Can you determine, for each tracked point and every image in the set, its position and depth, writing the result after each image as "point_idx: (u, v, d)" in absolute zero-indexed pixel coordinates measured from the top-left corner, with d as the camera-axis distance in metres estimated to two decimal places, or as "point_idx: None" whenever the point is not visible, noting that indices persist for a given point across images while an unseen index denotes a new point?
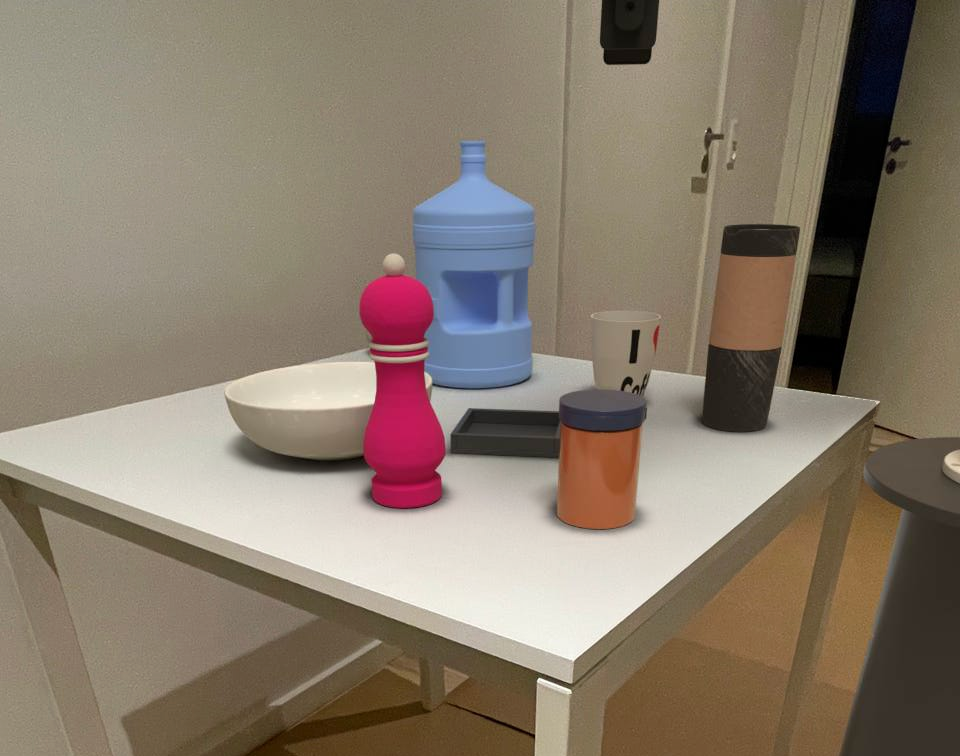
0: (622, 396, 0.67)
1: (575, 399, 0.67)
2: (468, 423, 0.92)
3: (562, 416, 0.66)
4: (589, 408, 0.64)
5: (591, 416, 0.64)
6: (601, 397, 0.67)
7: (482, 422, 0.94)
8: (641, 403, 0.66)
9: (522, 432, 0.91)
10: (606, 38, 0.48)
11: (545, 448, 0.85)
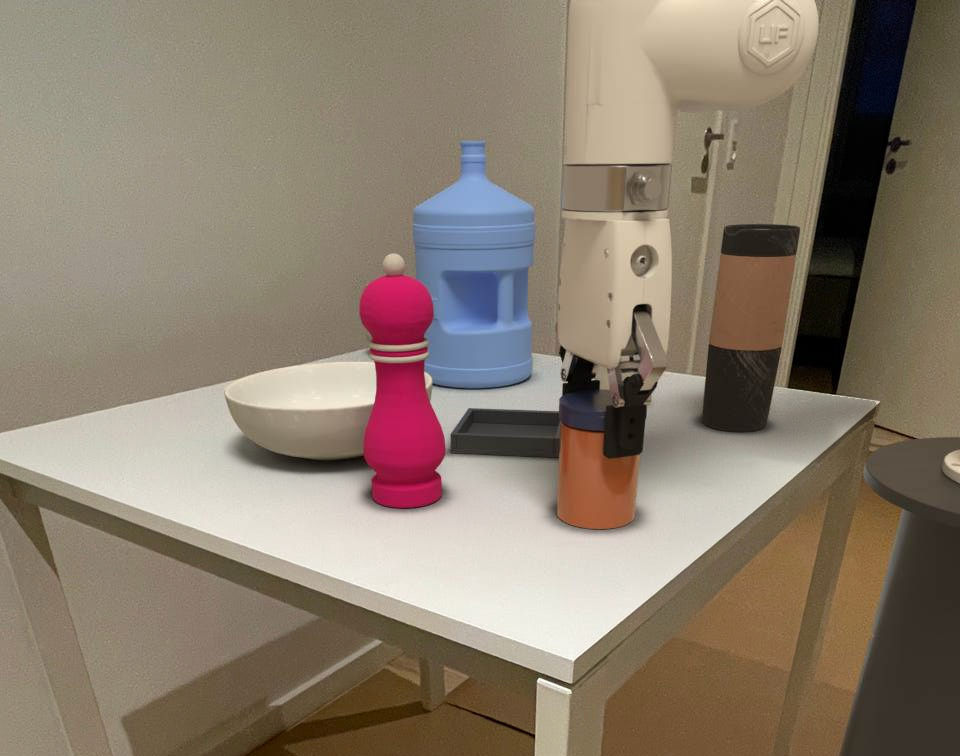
0: None
1: (575, 399, 0.67)
2: (468, 423, 0.92)
3: (562, 416, 0.66)
4: (589, 408, 0.64)
5: (591, 416, 0.64)
6: (601, 397, 0.67)
7: (482, 422, 0.94)
8: None
9: (522, 432, 0.91)
10: (610, 452, 0.64)
11: (545, 448, 0.85)
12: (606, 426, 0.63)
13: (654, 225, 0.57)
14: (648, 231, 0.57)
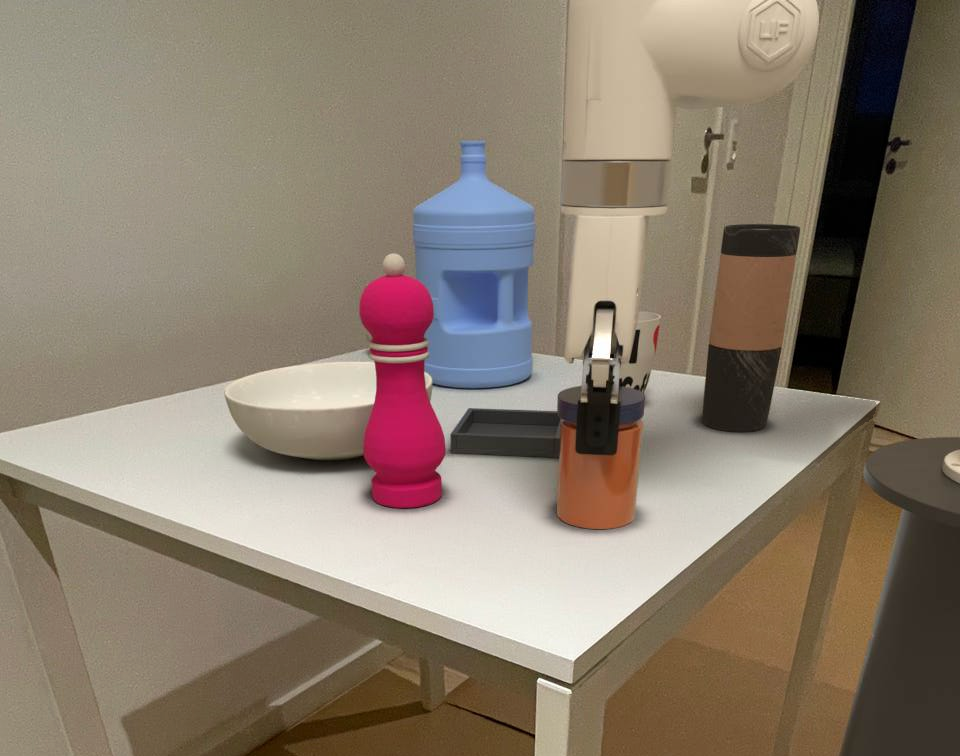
0: (576, 395, 0.66)
1: (625, 398, 0.65)
2: (468, 423, 0.92)
3: None
4: (628, 389, 0.68)
5: None
6: None
7: (482, 422, 0.94)
8: (574, 388, 0.69)
9: (522, 432, 0.91)
10: None
11: (545, 448, 0.85)
12: None
13: None
14: None
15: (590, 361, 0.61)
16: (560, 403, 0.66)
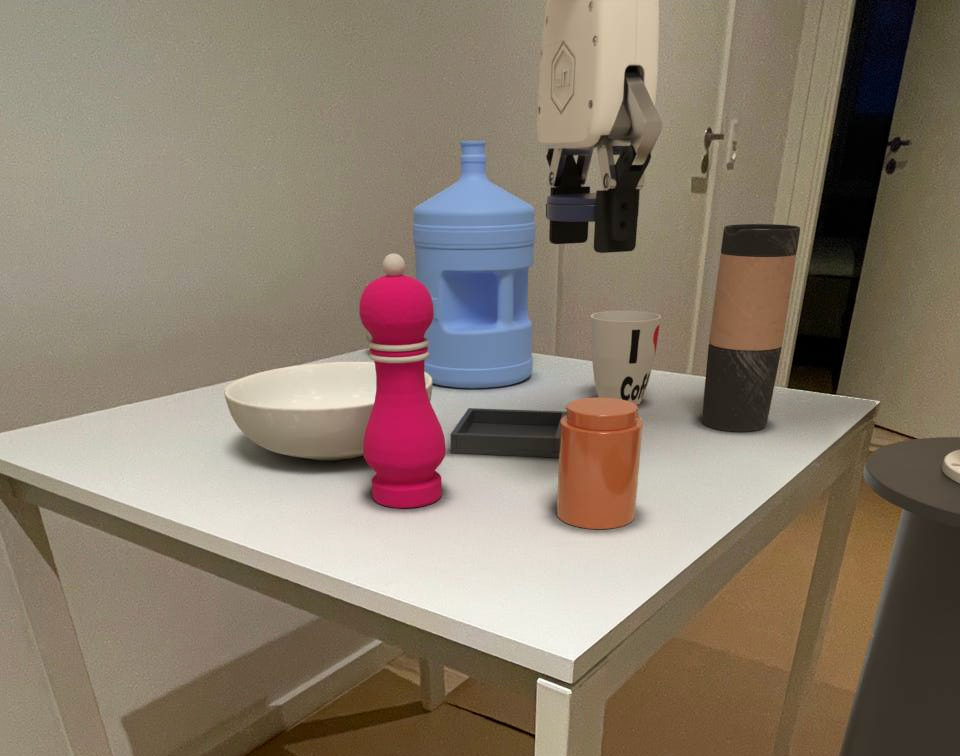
0: None
1: None
2: (468, 423, 0.92)
3: None
4: None
5: None
6: None
7: (482, 422, 0.94)
8: (553, 195, 0.64)
9: (522, 432, 0.91)
10: None
11: (545, 448, 0.85)
12: None
13: None
14: None
15: (611, 142, 0.58)
16: (564, 203, 0.61)
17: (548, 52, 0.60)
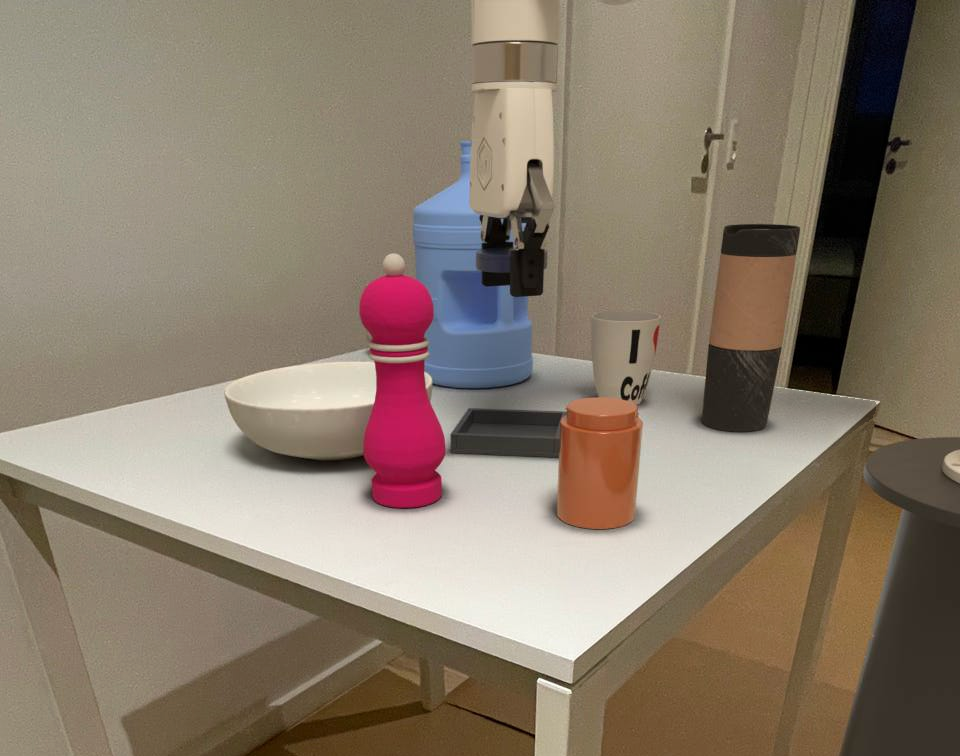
0: (494, 252, 0.80)
1: None
2: (468, 423, 0.92)
3: None
4: None
5: None
6: None
7: (482, 422, 0.94)
8: (481, 250, 0.82)
9: (522, 432, 0.91)
10: None
11: (545, 448, 0.85)
12: None
13: None
14: None
15: (520, 214, 0.76)
16: (487, 258, 0.79)
17: (475, 143, 0.77)
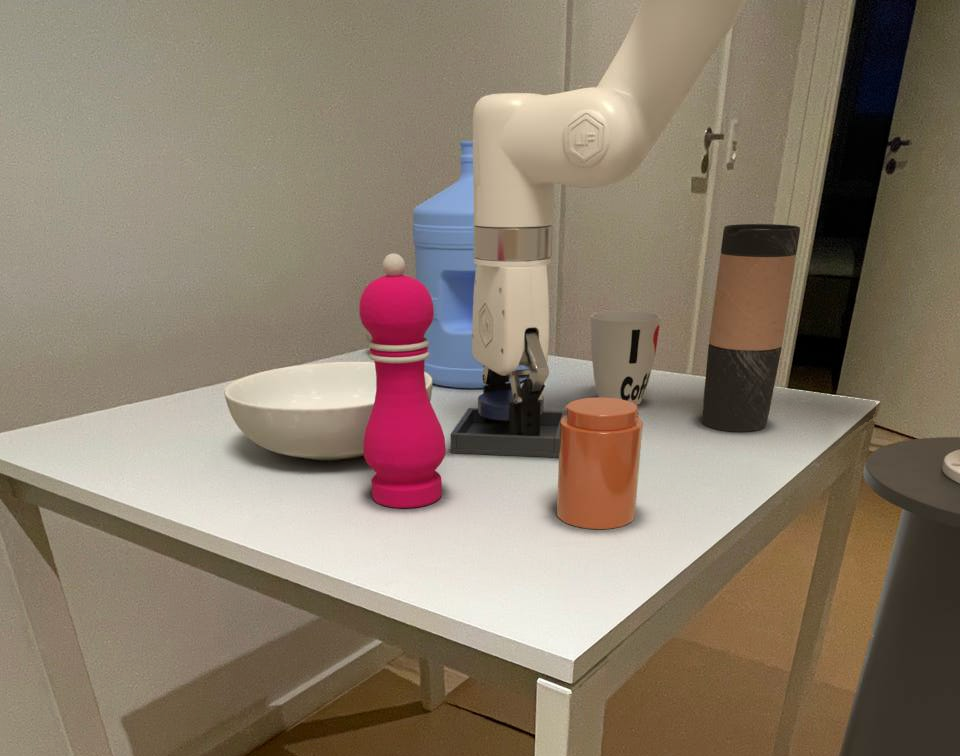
0: (494, 400, 0.87)
1: None
2: (468, 423, 0.92)
3: None
4: None
5: None
6: (511, 399, 0.87)
7: (482, 422, 0.94)
8: (483, 394, 0.89)
9: None
10: None
11: (545, 448, 0.85)
12: None
13: None
14: None
15: (518, 372, 0.83)
16: (488, 407, 0.86)
17: (477, 303, 0.84)
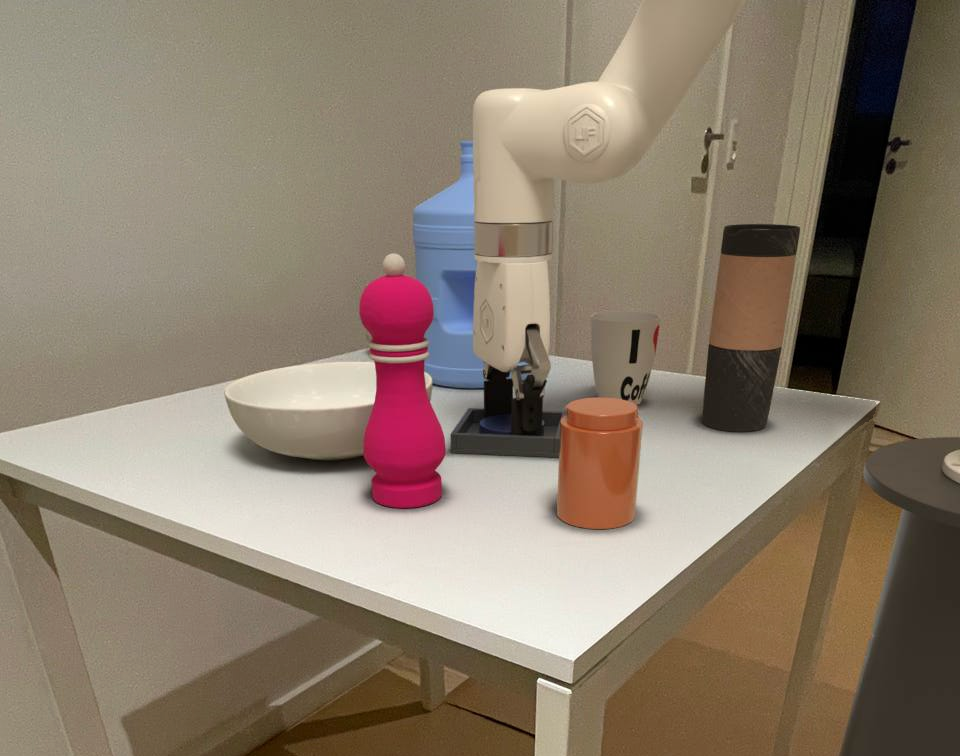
0: (495, 425, 0.88)
1: None
2: (468, 423, 0.92)
3: None
4: None
5: None
6: None
7: None
8: (484, 419, 0.90)
9: None
10: None
11: (545, 448, 0.85)
12: None
13: None
14: None
15: (520, 368, 0.82)
16: (489, 432, 0.87)
17: (478, 300, 0.84)
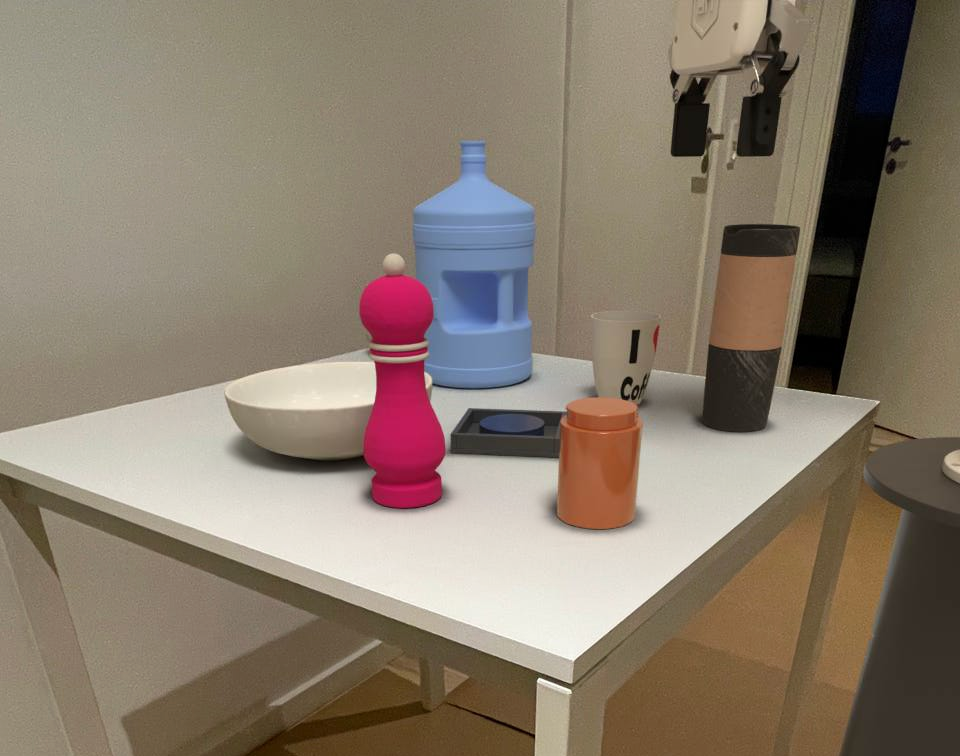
0: (495, 425, 0.88)
1: (532, 422, 0.89)
2: (468, 423, 0.92)
3: None
4: (523, 415, 0.91)
5: None
6: (512, 424, 0.88)
7: None
8: (484, 419, 0.90)
9: None
10: None
11: (545, 448, 0.85)
12: None
13: None
14: None
15: (756, 53, 0.63)
16: (489, 432, 0.87)
17: None
